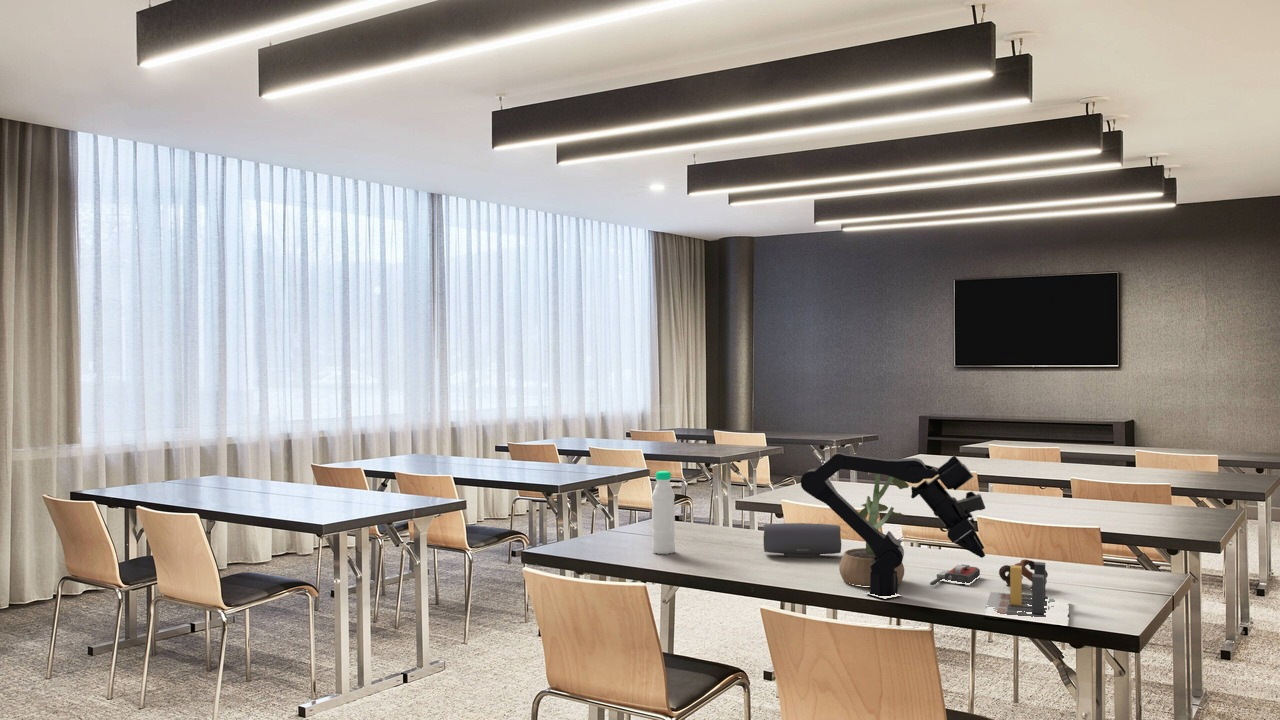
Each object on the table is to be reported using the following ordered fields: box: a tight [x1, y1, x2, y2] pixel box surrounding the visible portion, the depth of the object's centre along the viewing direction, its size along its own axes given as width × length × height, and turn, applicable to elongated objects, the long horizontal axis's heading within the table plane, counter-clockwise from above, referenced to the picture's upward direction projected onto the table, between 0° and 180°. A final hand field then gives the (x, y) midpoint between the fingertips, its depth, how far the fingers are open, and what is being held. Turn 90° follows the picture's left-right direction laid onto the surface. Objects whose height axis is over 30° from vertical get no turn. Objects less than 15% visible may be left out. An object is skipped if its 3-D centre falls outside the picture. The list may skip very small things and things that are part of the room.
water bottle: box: [651, 470, 676, 555], centre depth 289 cm, size 7×7×25 cm
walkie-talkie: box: [929, 563, 981, 586], centre depth 250 cm, size 9×4×20 cm
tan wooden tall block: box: [1009, 564, 1023, 605], centre depth 222 cm, size 2×3×9 cm
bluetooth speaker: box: [763, 522, 842, 558], centre depth 283 cm, size 23×9×10 cm, turn 84°
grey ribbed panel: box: [985, 561, 1055, 617], centre depth 221 cm, size 18×22×10 cm
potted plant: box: [838, 473, 910, 586], centre depth 252 cm, size 22×18×30 cm
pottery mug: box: [998, 559, 1048, 589], centre depth 243 cm, size 12×10×8 cm
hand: (983, 552), depth 227 cm, fingers open, 9 cm apart
